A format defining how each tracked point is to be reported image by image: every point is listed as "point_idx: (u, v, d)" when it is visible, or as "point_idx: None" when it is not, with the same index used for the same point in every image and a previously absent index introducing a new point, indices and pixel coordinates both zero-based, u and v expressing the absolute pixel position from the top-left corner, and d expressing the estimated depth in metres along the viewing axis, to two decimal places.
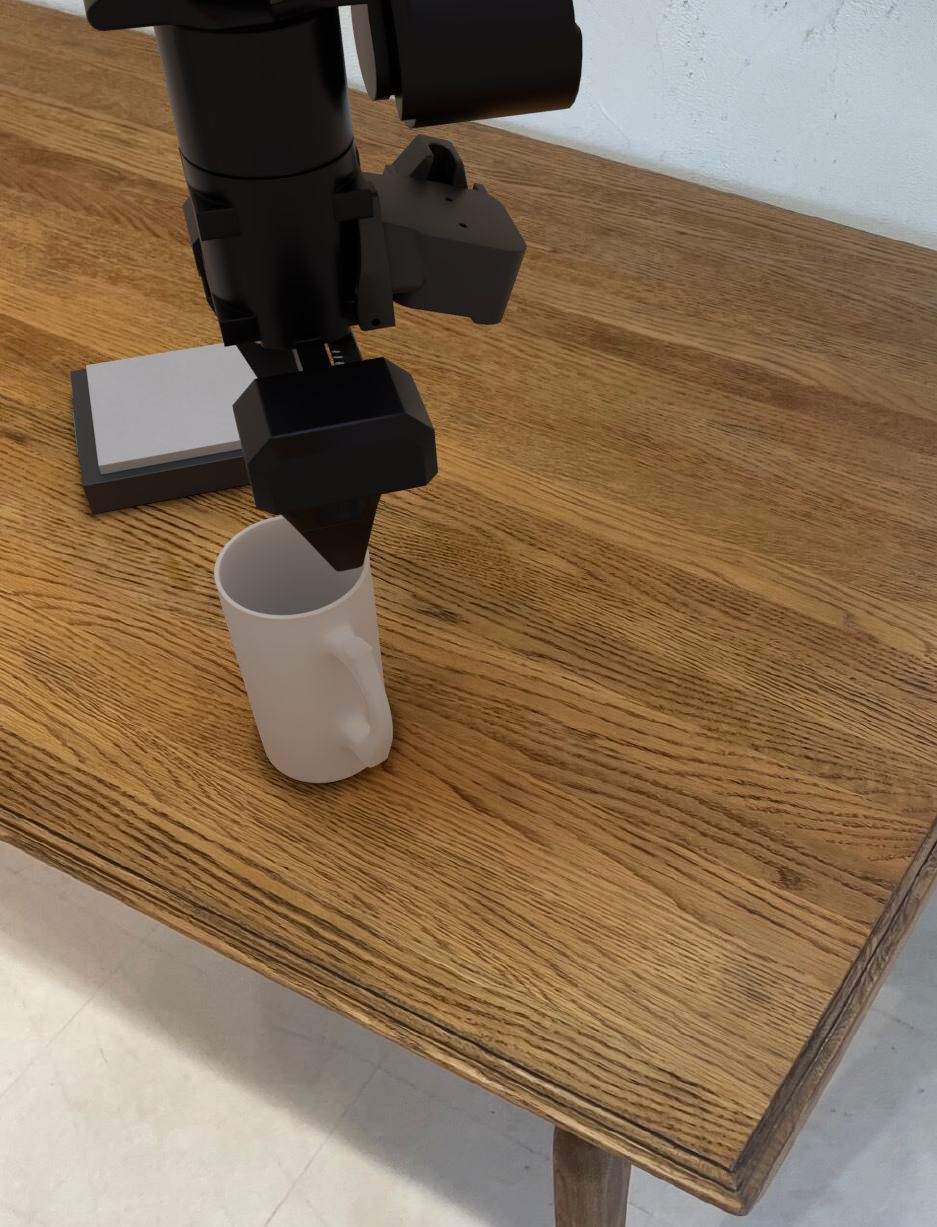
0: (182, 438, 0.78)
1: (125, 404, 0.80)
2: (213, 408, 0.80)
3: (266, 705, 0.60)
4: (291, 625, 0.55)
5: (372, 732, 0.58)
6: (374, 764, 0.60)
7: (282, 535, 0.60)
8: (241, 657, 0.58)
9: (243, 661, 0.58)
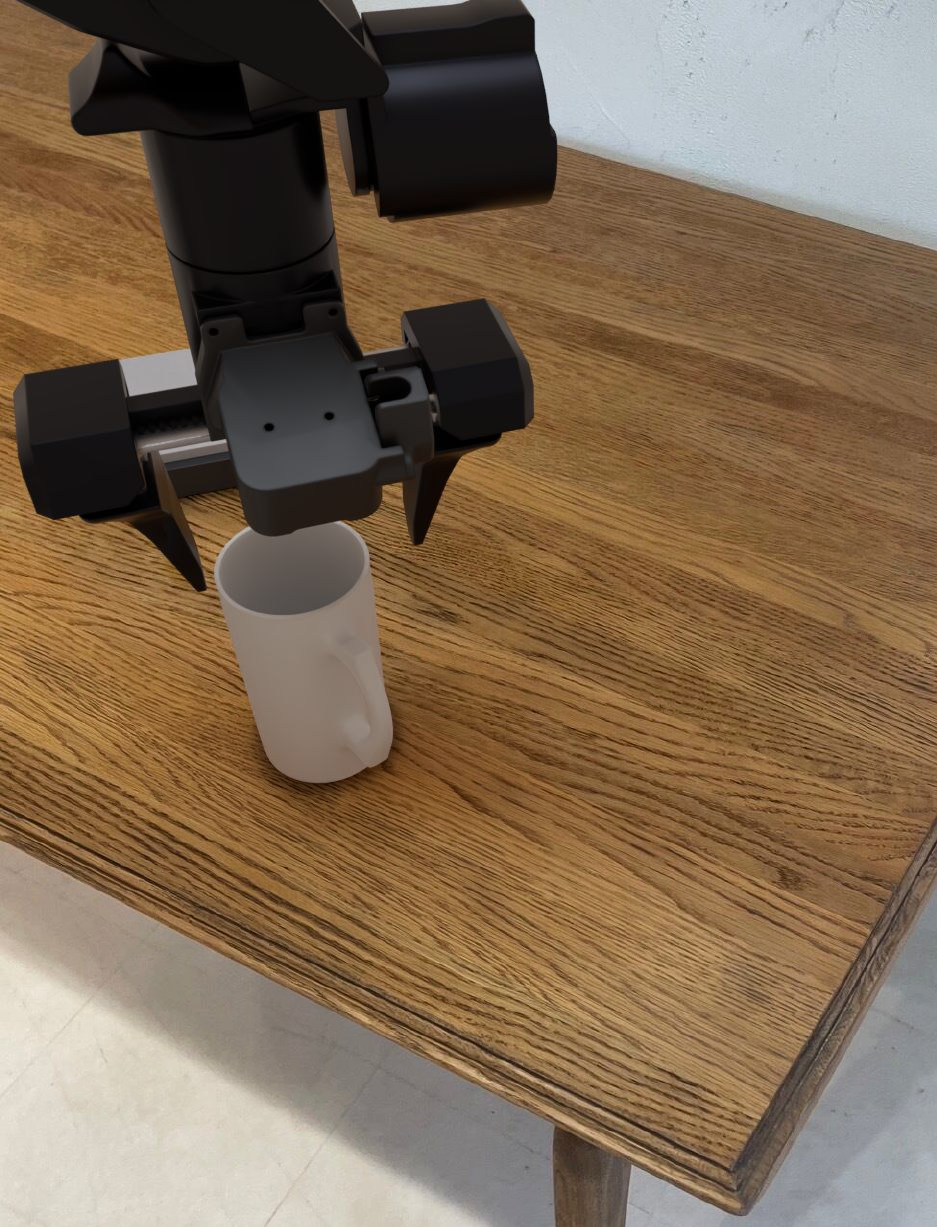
0: None
1: None
2: None
3: (266, 705, 0.60)
4: (291, 625, 0.55)
5: (372, 732, 0.58)
6: (374, 764, 0.60)
7: None
8: (241, 657, 0.58)
9: (243, 661, 0.58)
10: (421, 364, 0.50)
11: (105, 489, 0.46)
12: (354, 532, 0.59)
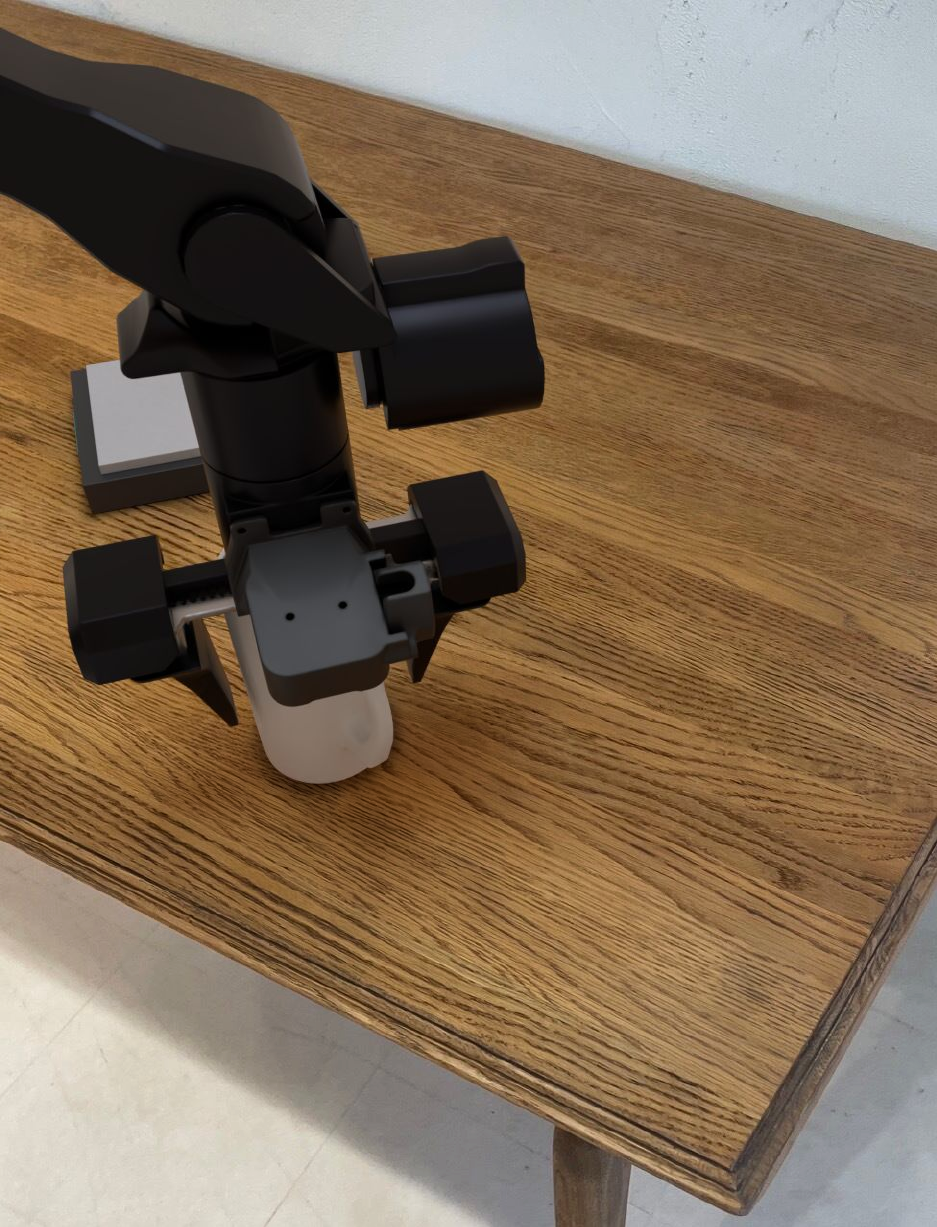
0: (182, 438, 0.78)
1: (125, 404, 0.80)
2: None
3: (266, 705, 0.60)
4: None
5: (372, 732, 0.58)
6: (375, 764, 0.60)
7: None
8: (242, 658, 0.58)
9: (243, 661, 0.58)
10: (425, 535, 0.56)
11: (144, 658, 0.52)
12: None
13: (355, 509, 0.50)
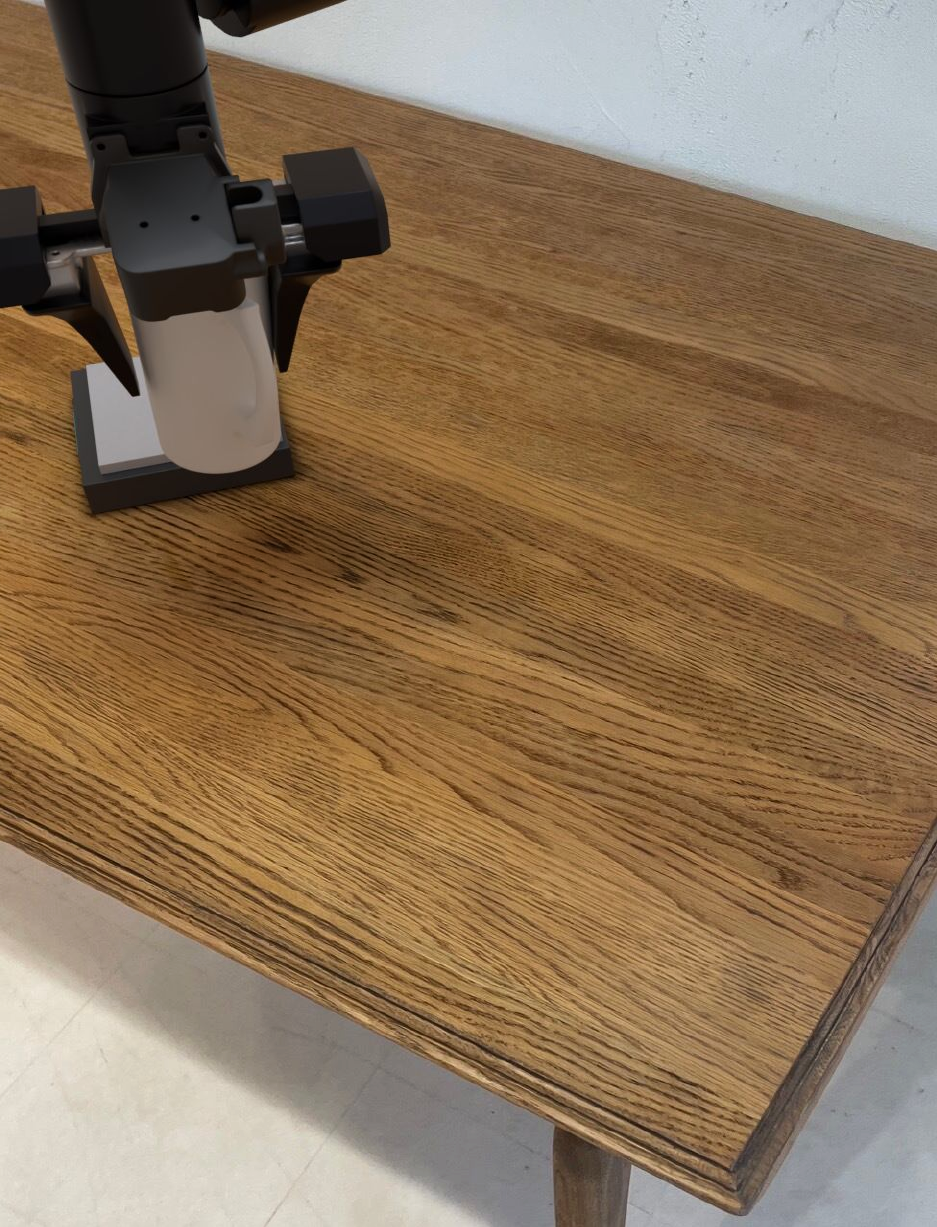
0: None
1: (125, 404, 0.80)
2: None
3: (160, 378, 0.63)
4: None
5: (258, 399, 0.61)
6: (261, 441, 0.64)
7: None
8: (137, 323, 0.62)
9: (138, 328, 0.62)
10: (293, 197, 0.59)
11: (17, 286, 0.55)
12: None
13: (211, 135, 0.53)
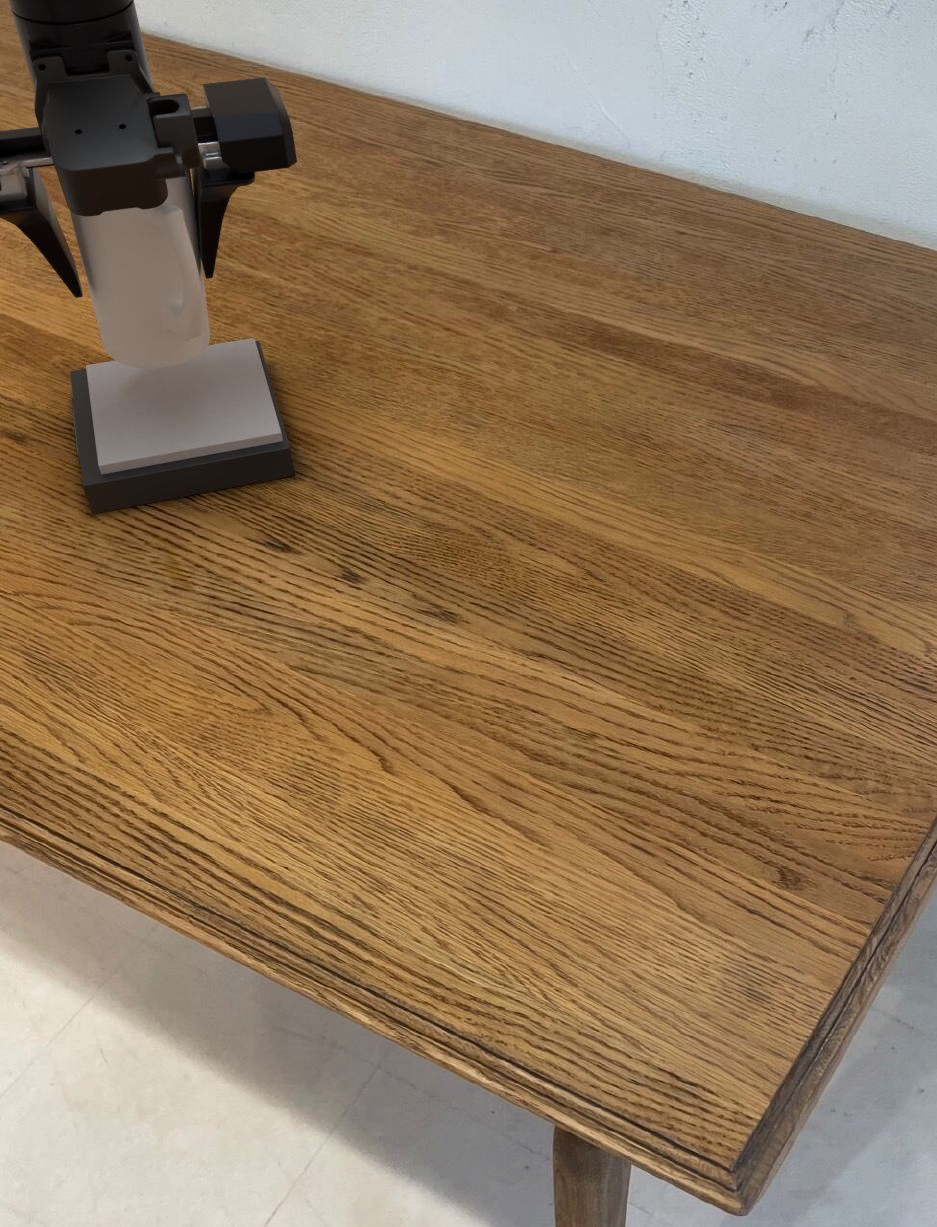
0: (182, 438, 0.78)
1: (125, 404, 0.80)
2: (213, 408, 0.80)
3: (100, 280, 0.73)
4: None
5: (184, 295, 0.71)
6: (189, 335, 0.73)
7: None
8: (79, 231, 0.71)
9: (80, 234, 0.71)
10: (211, 118, 0.69)
11: None
12: None
13: (136, 58, 0.63)
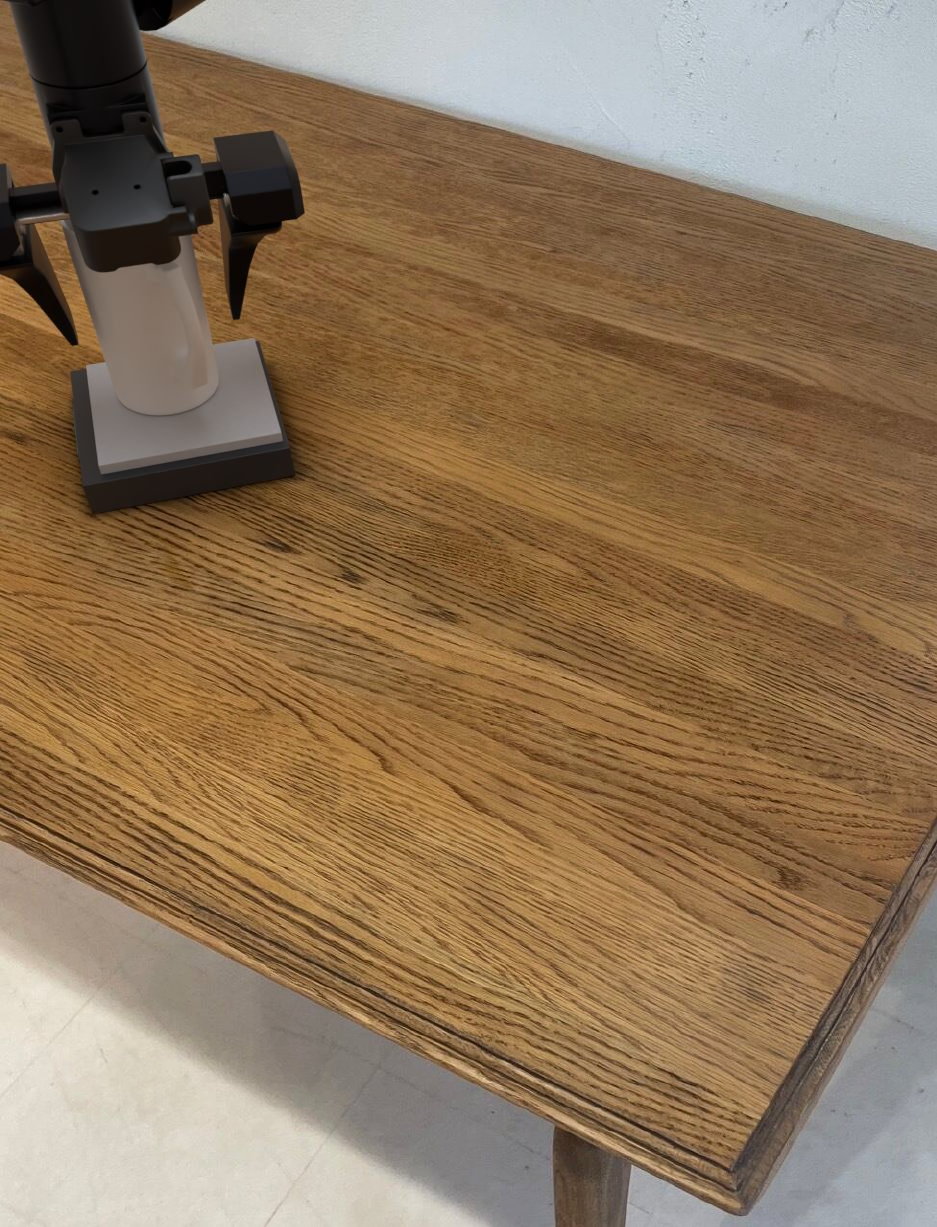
0: (182, 438, 0.78)
1: None
2: (213, 408, 0.80)
3: (108, 335, 0.75)
4: None
5: (188, 347, 0.73)
6: (196, 384, 0.76)
7: None
8: (85, 289, 0.74)
9: (86, 293, 0.74)
10: (221, 172, 0.71)
11: None
12: None
13: (150, 119, 0.65)
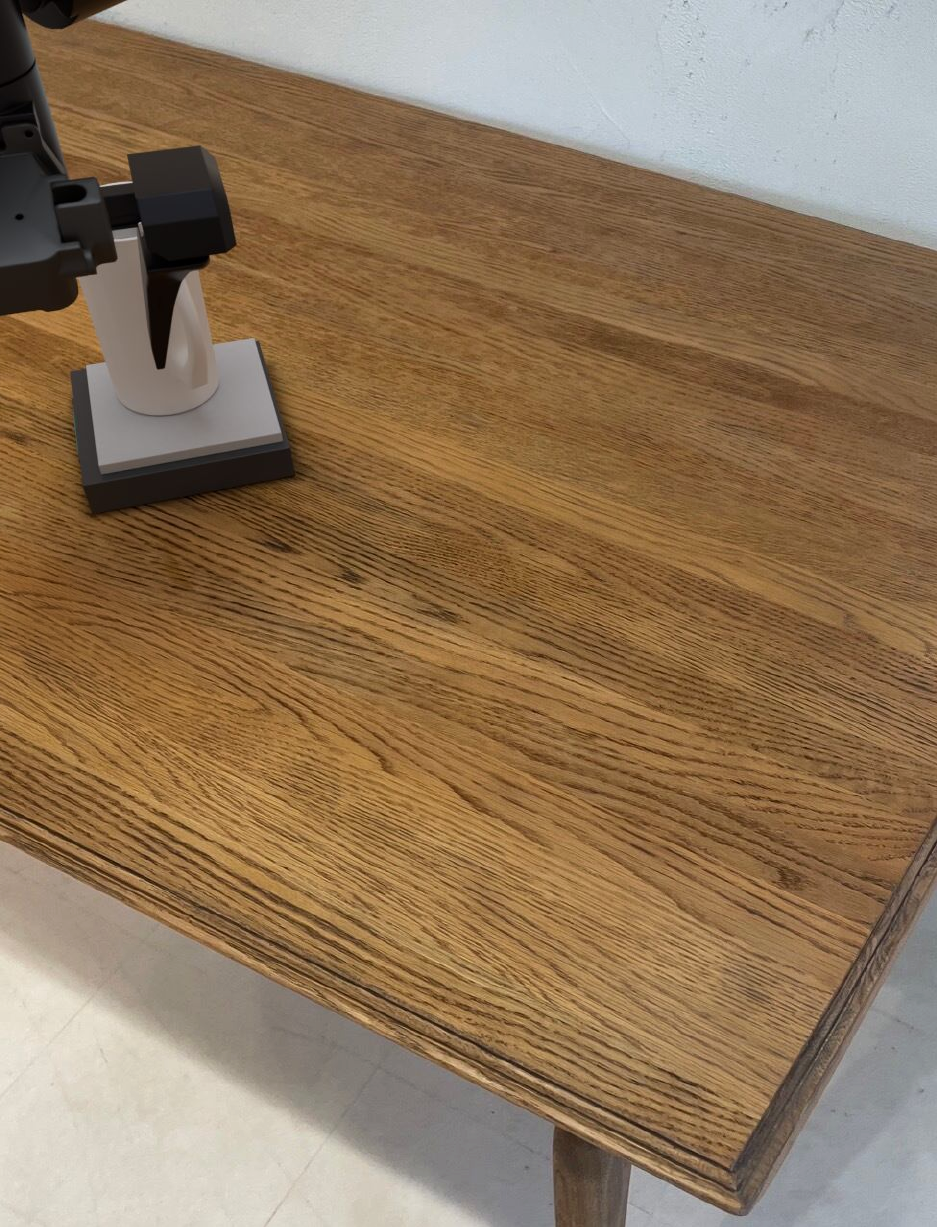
0: (182, 438, 0.78)
1: None
2: (213, 408, 0.80)
3: (108, 335, 0.75)
4: (117, 248, 0.71)
5: (188, 347, 0.73)
6: (196, 384, 0.76)
7: None
8: (85, 289, 0.74)
9: (87, 293, 0.74)
10: (135, 196, 0.59)
11: None
12: None
13: (37, 134, 0.53)
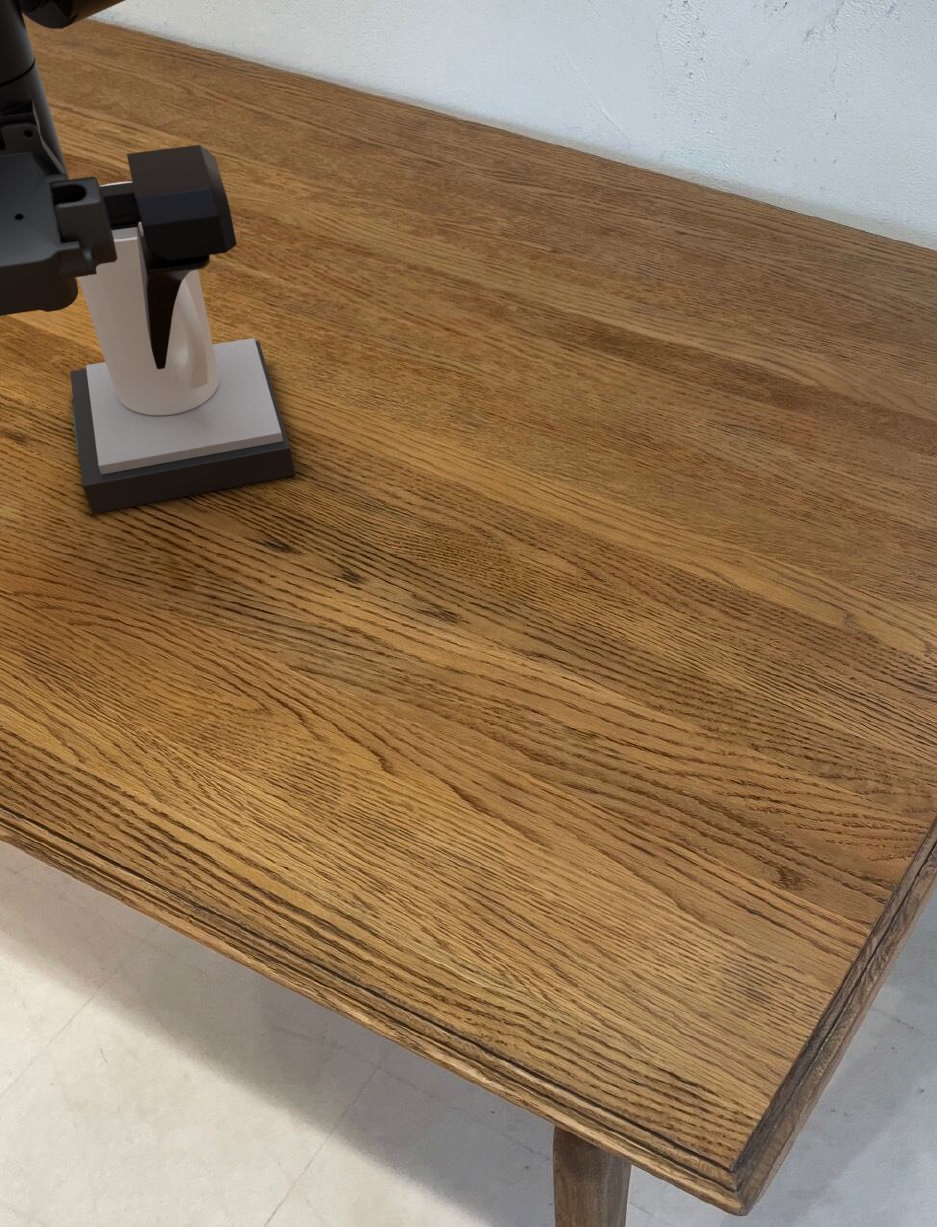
0: (182, 438, 0.78)
1: None
2: (213, 408, 0.80)
3: (108, 335, 0.75)
4: (117, 248, 0.71)
5: (188, 347, 0.73)
6: (196, 384, 0.76)
7: None
8: (85, 289, 0.74)
9: (87, 293, 0.74)
10: (135, 195, 0.59)
11: None
12: None
13: (37, 134, 0.53)
